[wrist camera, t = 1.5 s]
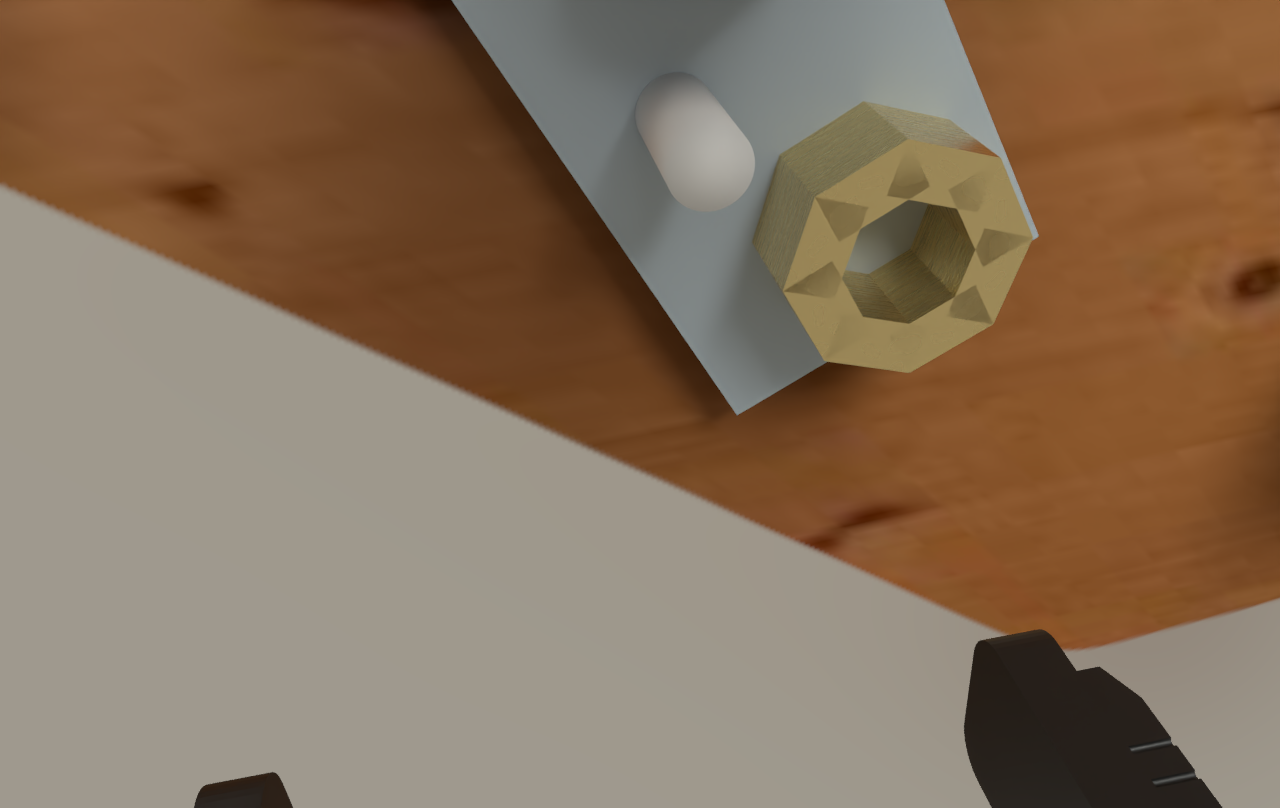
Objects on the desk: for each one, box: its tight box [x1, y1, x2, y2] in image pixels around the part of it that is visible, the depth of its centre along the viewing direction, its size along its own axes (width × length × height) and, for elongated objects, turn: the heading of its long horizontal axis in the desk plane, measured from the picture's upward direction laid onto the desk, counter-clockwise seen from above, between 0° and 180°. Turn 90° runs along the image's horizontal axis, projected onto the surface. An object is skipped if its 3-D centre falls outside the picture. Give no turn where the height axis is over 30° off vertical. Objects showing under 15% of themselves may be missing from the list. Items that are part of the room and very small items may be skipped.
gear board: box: [452, 0, 1039, 415], centre depth 25 cm, size 10×18×6 cm, turn 31°
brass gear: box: [752, 101, 1033, 373], centre depth 27 cm, size 6×6×3 cm
